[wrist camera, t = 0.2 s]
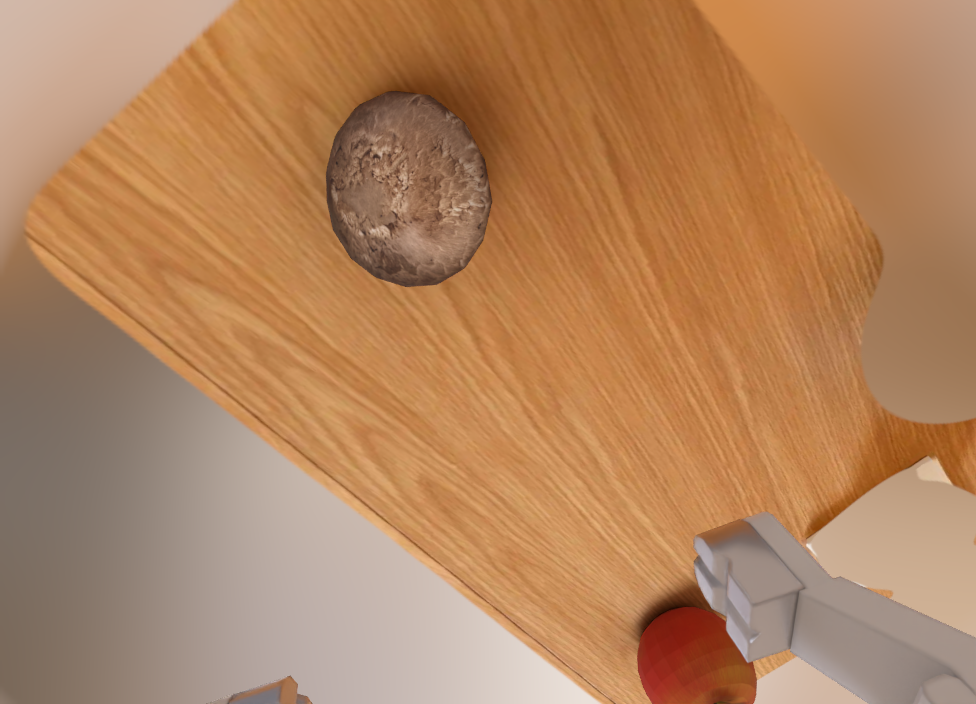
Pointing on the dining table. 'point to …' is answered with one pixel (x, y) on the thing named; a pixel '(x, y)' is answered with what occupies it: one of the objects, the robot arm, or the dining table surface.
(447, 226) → the mushroom
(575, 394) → the dining table surface
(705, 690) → the fruit
